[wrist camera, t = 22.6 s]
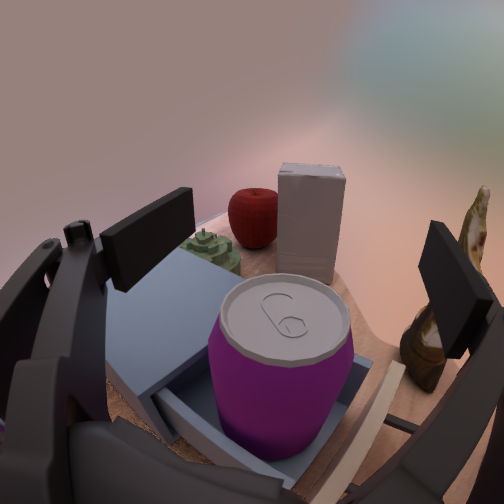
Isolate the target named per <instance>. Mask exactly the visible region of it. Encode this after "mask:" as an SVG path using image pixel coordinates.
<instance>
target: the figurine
mask: <svg viewBox="0 0 504 504" xmlns="http://www.w3.org/2000/svg"><path fill="white" fill-rule="evenodd" d="M489 198H490V191H489V189H488V187H487V186H482V187H481V188H480V190H479V192H478V195H477V197H476V199H475V201H474V203H473V205H472V206H471V208H470V209H469V210H468V211H467V214H466V216H465V219H464V222H463V226H462V230H461V234H460V237H459V240H458V243H459V245H460V246H461V248H462V249H463V250H464V252H465V253H466V255H467V256H468V258H469V259H470V261H471V263H472V264H473V266H474V267H475V269H476V270H477V271H479V272H480V273H481V274H482V271H481V267H480V262H481V260H482V255H483V249H484V243H485V239H486V235H487V232H486V213H487V205H488V200H489ZM400 355H401V357H402V360H403V362H404V364H405V365H406V368H407V369H408V371H409V372H410V374H411V375H412V376H413V377H414V379H415V380H416V381H417V383H418V384H419V385H420V386H421V387H422V388H423V389H425V390H426V391H427V392H430V393H433V391H434V390H435V388H436V386H437V384H438V382H439V379H440V377H441V375H442V372H443V370H444V367H445V364H446V361H447V358H444V353H443V349H442V344H441V340H440V336H439V332H438V328H437V325H436V321H435V317H434V314H433V310H432V307H431V304H430V301H429V303H428V305H427V306H424V307H423V308H422V309H421V310H420V311H419V312H418V313H417V315H416V317H415V319H414V321H413V323H412V325H409V326H408V327H407V328H406V329H405V331H404V333H403V335H402V338H401V341H400Z"/></svg>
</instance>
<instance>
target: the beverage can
mask: <svg viewBox="0 0 504 504" xmlns="http://www.w3.org/2000/svg"><path fill="white" fill-rule="evenodd" d="M208 357H209V363H210V369H211V376H212V382H213V387H214V393H215V399H216V404H217V410H218V415H219V420H220V425H221V427H222V429H223V431H224V433H225V435H226V437H228V438H229V439H230V440H232V441H233V442H235V443H236V444H238V445H239V446H240V447H242V448H243V449H245V450H246V451H248V452H249V453H251V454H252V455H254V456H256V457H257V458H259V459H260V460H268V461H274V460H281V459H287V458H290V457H292V456H294V455H296V454H298V453H300V452H302V451H303V450H304V449H305V448H306V447H308V446H309V445H310V444H311V443H312V442H313V441H314V440H315V439H316V437H317V435H318V434H319V432H320V430H321V428H322V426H323V425H324V423H325V421H326V419H327V417H328V415H329V413H330V411H331V409H332V407H333V405H334V403H335V401H336V399H337V397H338V395H339V393H340V391H341V389H342V387H343V385H344V383H345V381H346V378H347V376H348V374H349V371H350V368H351V365H352V362H353V359H354V348H353V339H352V332H351V320H350V312H349V308H348V306H347V305H346V303H345V301H344V300H343V298H342V297H341V296H340V295H339V294H338V293H337V292H335V291H334V290H333V289H332V288H331V287H329V286H327V285H325V284H323V283H321V282H319V281H318V280H315V279H312V278H308V277H305V276H301V275H294V274H285V273H278V274H265V275H261V276H257V277H253V278H249V279H247V280H245V281H243V282H241V283H239V284H238V285H236V286H235V287H234V288H233V289H232V290H231V291H229V292H228V293H227V294H226V296H225V298H224V300H223V302H222V305H221V307H220V311H219V314H218V317H217V319H216V322H215V324H214V326H213V329H212V331H211V334H210V336H209V338H208Z"/></svg>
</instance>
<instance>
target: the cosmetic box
mask: <svg viewBox="0 0 504 504" xmlns="http://www.w3.org/2000/svg"><path fill="white" fill-rule="evenodd" d="M345 183H346V178H345V176H344V174H343V173H342V171H341V168H340V167H339V166H329V165H313V164H297V163H283V164H282V166H281V168H280V170H279V173H278V223H277V261H276V274H278V273H285V274H294V275H301V276H305V277H308V278H312V279H315V280H318V281H319V282H321V283H325V284H331V282H332V278H333V272H334V266H335V260H336V253H337V246H338V240H339V232H340V224H341V216H342V208H343V199H344V191H345Z"/></svg>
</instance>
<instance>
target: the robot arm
mask: <svg viewBox="0 0 504 504" xmlns="http://www.w3.org/2000/svg"><path fill="white" fill-rule="evenodd" d="M192 192H193V191H192V188H188V187H181V188H178V189H177V190H175V191H173V192H171V193H169V194H167V195H166V196H163V197H161V198H160V199H158V200H156V201H154V202H153V203H151V204H149V205H147V206H145V207H144V208H142V209H140V210H138V211H137V212H135V213H133V214H131V215H130V216H128V217H126V218H125V219H123V220H121V221H120V222H118V223H116V224H115V225H113V226H111V227H110V228H108V229H107V230H105V231H103V232H102V233H100V234H99V235H100V236H99V237H98V238H96V239H95V240H94V238H93V234H92V230H91V226H90V221H88V220H79V221H76V222H73V223H70V224H69V225H67V226H65V227H64V229H63V230H64V234H65V237H66V241H67V244H68V247H67V248H62V246H61V243H60V239H57V238H53V239H51V238H50V239H47V240H45V241H44V242H43V243H41V244H40V245H39V246H38V247H37V248H36V249H35V250H34V251H33V252H32V253H31V254H30V256H29V257H28V258H27V259H26V260H25V261H24V262H23V263H22V264H21V266H20V267H19V268H18V269H17V270H16V271H15V273H14V274H13V275H12V276H11V278H10V279H9V280H8V281H7V282H6V284H5V285H4V286H3V288H2V289H1V290H0V504H310V503H309V502H307V501H306V500H305V499H303V498H302V497H301V496H299V495H297V494H296V493H294V492H292V491H290V490H288V489H286V488H284V487H282V486H283V483H284V480H285V479H280V478H276V477H271V476H267V475H263V474H259V473H255V472H251V471H248V470H244V469H241V468H237V467H225V466H216V465H208V464H200V463H194V462H189V461H186V460H184V459H183V458H181V457H180V456H179V455H177V454H176V453H175V452H173V451H172V450H171V449H170V448H168V447H167V446H166V445H165V444H163V443H162V442H161V441H160V440H158V439H157V438H156V437H155V436H154V435H153V434H151V433H150V432H148V431H146V430H144V429H142V428H140V427H138V426H136V425H134V424H132V423H131V422H129V421H127V420H125V419H123V418H122V417H120V416H117V417H116V419H115V420H114V422H113V423H112V420H111V418H110V416H109V413H108V407H107V393H106V368H105V337H106V311H107V296H108V287H107V284H106V282H107V281H108V280H109V279H110V278H111V280H112V283H113V286H114V289H115V290H118V291H121V292H124V293H127V292H128V291H129V290H130V289H131V288H132V287H133V286H135V285H136V284H137V283H138V282H139V281H140V280H141V279H142V278H143V277H144V276H145V275H147V274H148V273H149V272H150V271H151V270H152V269H153V268H154V267H155V266H157V265H158V264H159V263H160V262H161V261H162V260H163V259H164V258H166V257H167V256H168V255H169V254H170V253H171V252H172V251H173V250H175V249H176V248H177V247H178V246H179V245H180V244H182V243H183V242H184V241H185V240H186V239H187V238H189V237H190V236H191V235H192V234H193V233H194V232H196V229H195V218H194V205H193V193H192ZM418 268H419V271H420V273H421V276H422V279H423V282H424V285H425V288H426V291H427V294H428V297H429V300H430V304H431V307H432V310H433V314H434V317H435V321H436V325H437V328H438V332H439V336H440V340H441V344H442V349H443V353H444V358H449V359H461V357H462V356H463V354H464V352H465V351H466V349H467V348H468V350H469V353H470V356H469V358H468V360H467V361H466V362H465V364H464V365H463V367H462V368H461V369H460V371H459V372H458V373H457V377H456V378H455V380H454V381H453V383H452V384H451V386H450V387H449V389H448V390H447V391H446V393H445V394H444V396H443V397H442V398H441V400H440V401H439V403H438V404H437V405H436V407H435V408H434V409H433V410H432V412H431V413H430V414H429V416H428V417H427V418H426V419H425V421H424V422H423V423H422V424H421V425H420V427H419V428H418V429H417V430H416V431H415V432H414V434H413V435H412V436H411V437H410V438H409V439H408V440H407V441H406V442H405V444H404V445H403V446H402V447H401V448H400V449H399V450H398V451H397V452H396V453H395V454H394V455H393V456H392V457H391V458H390V459H389V460H388V461H387V462H386V463H385V464H384V465H383V466H382V467H381V468H380V469H379V470H377V471H376V472H375V473H374V474H373V475H372V476H371V477H370V478H369V479H367V480H366V481H365V482H364V483H363V484H362V485H360V486H359V487H358V488H357V489H355V490H354V491H353V492H352V493H350V494H349V495H347V496H346V497H344V498H343V499H341V500H340V501H339V502H337V503H336V504H444V502H443V500H442V498H443V495H444V494H445V492H446V491H447V490H448V488H449V487H450V485H451V484H452V483H453V481H454V480H455V478H456V477H457V476H458V474H459V473H460V471H461V470H462V468H463V467H464V465H465V464H466V462H467V460H468V459H469V457H470V456H471V454H472V452H473V451H474V449H475V447H476V445H477V444H478V442H479V440H480V438H481V436H482V434H483V433H484V431H485V429H486V427H487V425H488V423H489V421H490V419H491V416H492V414H493V412H494V410H495V408H496V406H497V409H496V414H495V419H494V423H493V428H492V431H491V435H490V439H489V443H488V446H487V450H486V453H485V456H484V459H483V462H482V465H481V468H480V471H479V474H478V476H477V479H476V482H475V484H474V487H473V489H472V491H471V494H470V496H469V498H468V501H467V503H466V504H504V307H502V306H501V304H500V303H499V301H498V299H497V297H496V295H495V294H494V292H493V290H492V288H491V287H490V286H489V283H488V282H487V280H486V279H485V277H484V276H483V275H482V274H481V273H480V272H479V271H477V270H476V269H475V267H474V266H473V264H472V263H471V261H470V259H469V258H468V256H467V255H466V253H465V252H464V250H463V249H462V248H461V246H460V245H459V243H458V242H457V240H456V239H455V238H454V236H453V235H452V233H451V232H450V231H449V229H448V228H447V227H446V225H445V224H444V223H443V222H438V221H434V220H431V223H430V227H429V230H428V234H427V238H426V242H425V245H424V249H423V252H422V256H421V259H420V262H419V265H418ZM45 273H46V276H47V278H48V281H49V283H50V286H49V288H47V286H46V284H45V281H44V276H45Z"/></svg>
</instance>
